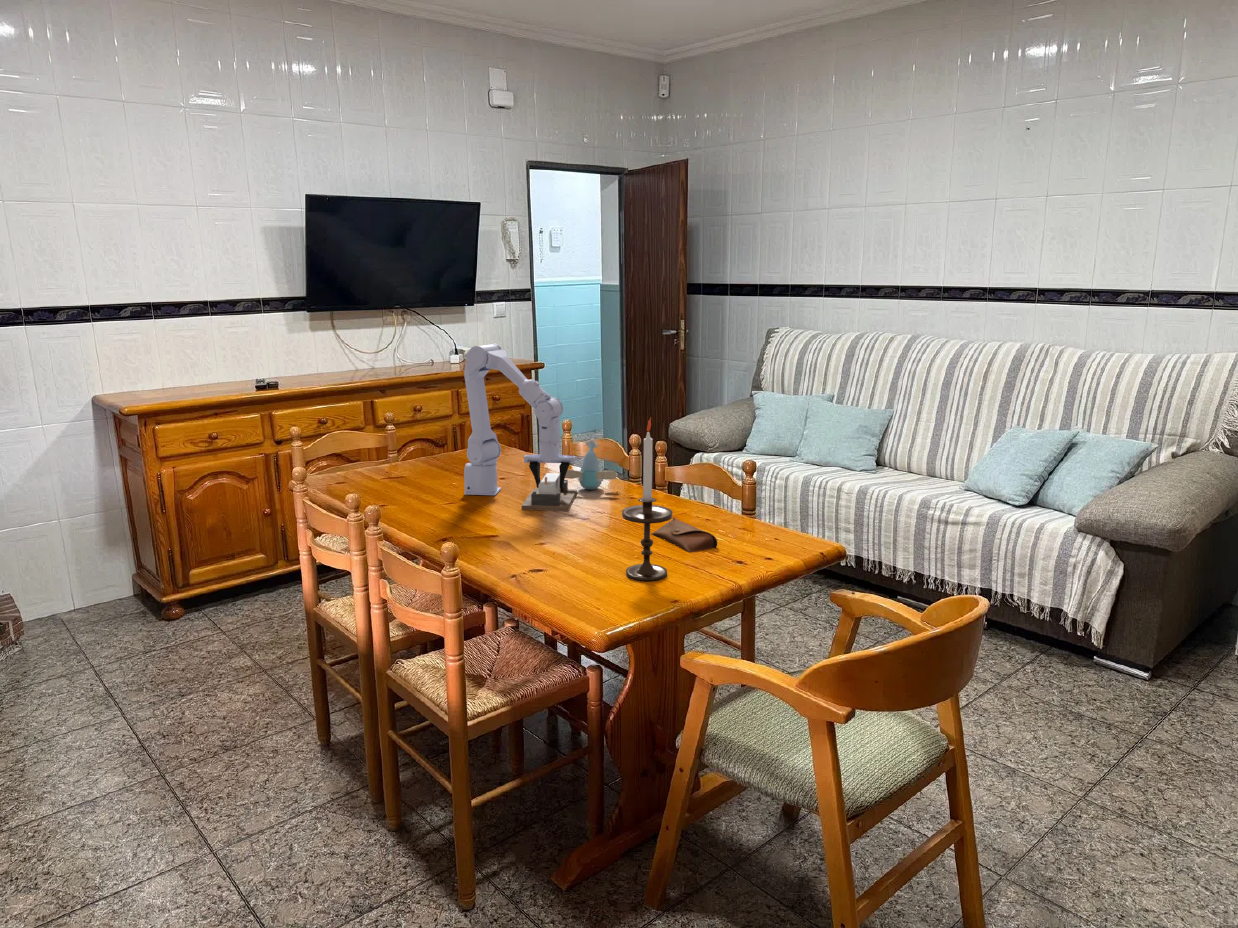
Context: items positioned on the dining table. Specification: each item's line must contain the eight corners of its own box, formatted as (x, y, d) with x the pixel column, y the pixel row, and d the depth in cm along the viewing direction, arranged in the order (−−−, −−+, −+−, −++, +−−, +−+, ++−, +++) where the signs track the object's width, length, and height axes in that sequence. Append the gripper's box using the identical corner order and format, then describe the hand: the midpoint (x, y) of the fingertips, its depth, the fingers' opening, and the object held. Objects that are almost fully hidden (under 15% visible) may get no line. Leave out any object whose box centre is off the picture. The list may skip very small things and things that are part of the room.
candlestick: (647, 562, 196) (649, 411, 189) (681, 575, 189) (684, 418, 181) (611, 573, 190) (612, 417, 182) (645, 587, 182) (647, 424, 174)
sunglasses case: (647, 533, 218) (659, 509, 219) (666, 542, 222) (678, 519, 223) (689, 553, 203) (702, 527, 204) (709, 563, 207) (721, 538, 208)
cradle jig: (567, 510, 238) (567, 496, 237) (521, 509, 239) (521, 494, 238) (576, 493, 257) (576, 479, 256) (534, 492, 258) (533, 478, 257)
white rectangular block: (553, 504, 240) (552, 478, 239) (538, 503, 241) (538, 477, 239) (560, 491, 254) (560, 466, 252) (546, 491, 254) (546, 466, 253)
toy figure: (619, 485, 266) (619, 438, 263) (616, 494, 256) (616, 445, 252) (566, 484, 268) (565, 436, 264) (560, 492, 257) (560, 443, 254)
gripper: (521, 443, 241) (522, 490, 244) (572, 444, 239) (573, 491, 243) (526, 438, 248) (527, 484, 251) (576, 439, 246) (576, 485, 249)
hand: (550, 487), depth 247 cm, fingers open, 6 cm apart
